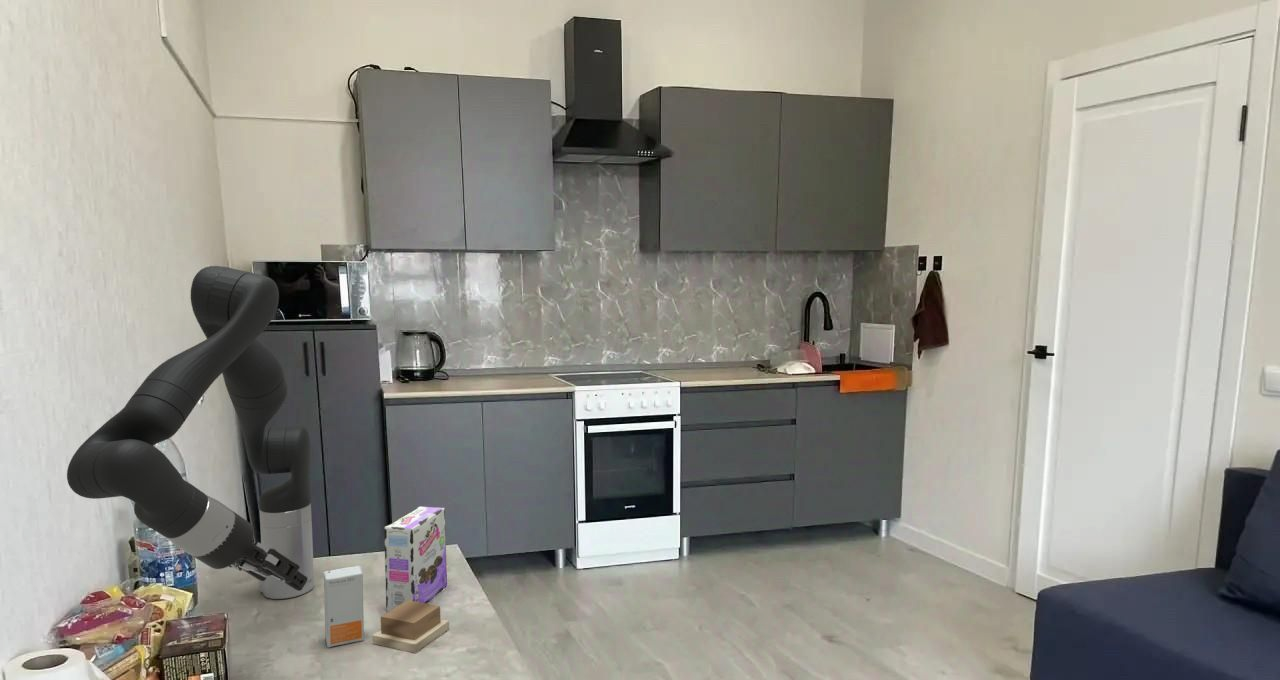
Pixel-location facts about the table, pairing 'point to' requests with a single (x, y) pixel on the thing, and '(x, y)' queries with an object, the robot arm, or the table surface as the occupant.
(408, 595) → the candy box
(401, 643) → the plinth
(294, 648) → the table surface
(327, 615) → the skincare box
